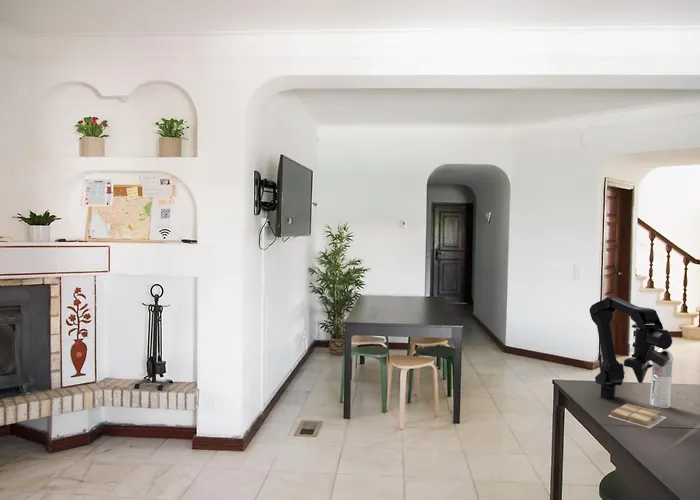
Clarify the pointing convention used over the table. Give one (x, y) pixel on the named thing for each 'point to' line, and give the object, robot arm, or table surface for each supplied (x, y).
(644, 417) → the raised plank
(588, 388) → the table surface
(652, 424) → the board
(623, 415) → the laid plank
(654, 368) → the water bottle
